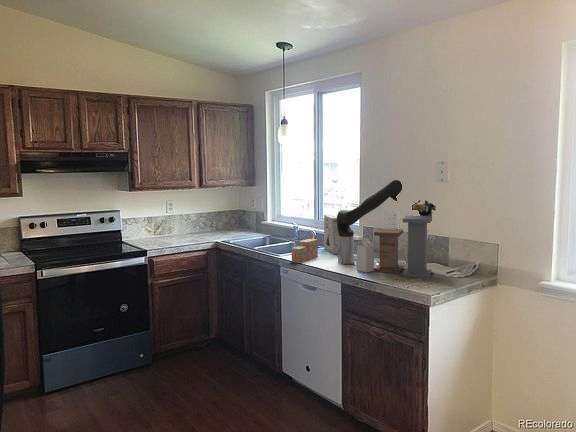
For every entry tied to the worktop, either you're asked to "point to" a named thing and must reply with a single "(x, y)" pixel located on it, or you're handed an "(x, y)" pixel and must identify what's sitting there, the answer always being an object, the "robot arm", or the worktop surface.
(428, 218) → the charcoal pedestal
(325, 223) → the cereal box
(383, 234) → the walnut stand
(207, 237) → the worktop surface
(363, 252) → the milk carton
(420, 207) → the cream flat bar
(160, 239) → the worktop surface
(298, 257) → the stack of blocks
